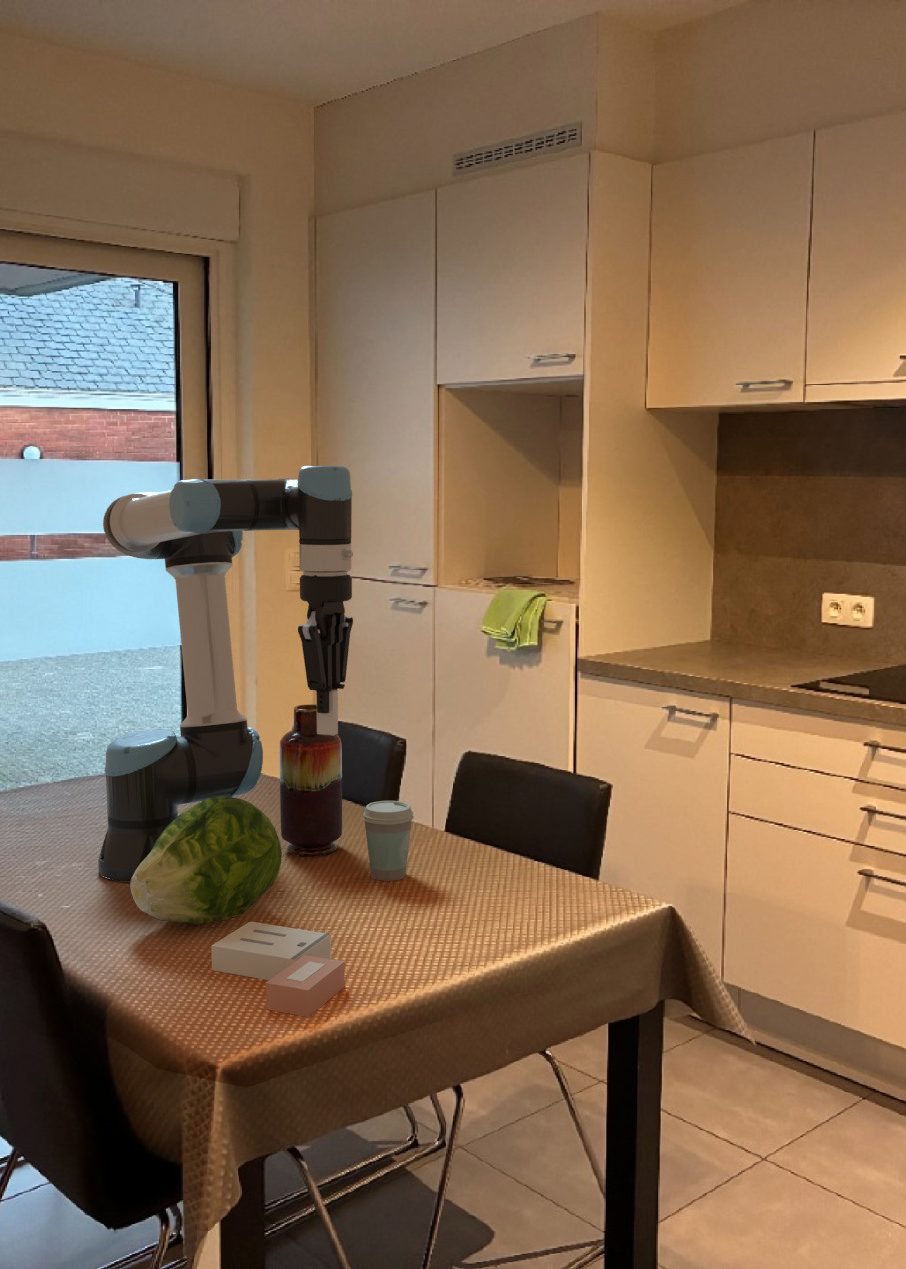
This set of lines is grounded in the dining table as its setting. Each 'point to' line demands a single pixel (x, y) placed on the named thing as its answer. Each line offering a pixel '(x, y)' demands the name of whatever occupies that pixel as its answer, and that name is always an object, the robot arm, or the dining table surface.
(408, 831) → the coffee cup
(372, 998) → the dining table surface
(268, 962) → the two-slot toaster
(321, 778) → the vase
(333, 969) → the stub
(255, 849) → the lettuce
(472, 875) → the dining table surface
